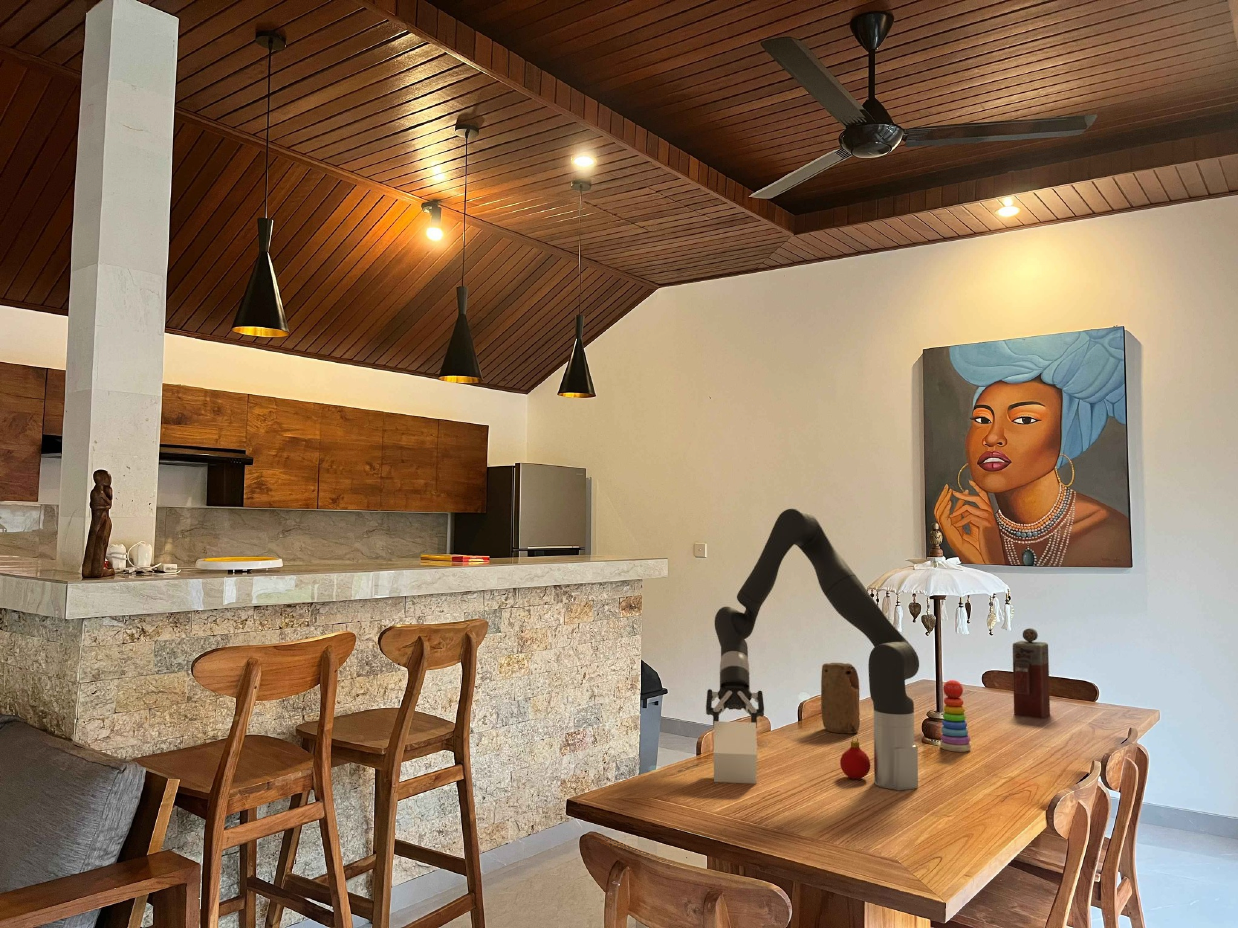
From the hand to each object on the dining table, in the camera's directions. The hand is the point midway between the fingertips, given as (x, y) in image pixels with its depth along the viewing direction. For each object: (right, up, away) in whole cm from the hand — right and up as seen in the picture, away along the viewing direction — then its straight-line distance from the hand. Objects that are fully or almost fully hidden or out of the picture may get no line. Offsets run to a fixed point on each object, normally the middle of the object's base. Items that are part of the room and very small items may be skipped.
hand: (735, 728), depth 217 cm
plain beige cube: (0, -9, -1) cm, 9 cm away
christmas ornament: (+29, -12, -1) cm, 31 cm away
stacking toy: (+65, -14, +29) cm, 72 cm away
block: (+38, -16, +50) cm, 65 cm away
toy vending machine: (+107, -18, +75) cm, 132 cm away
